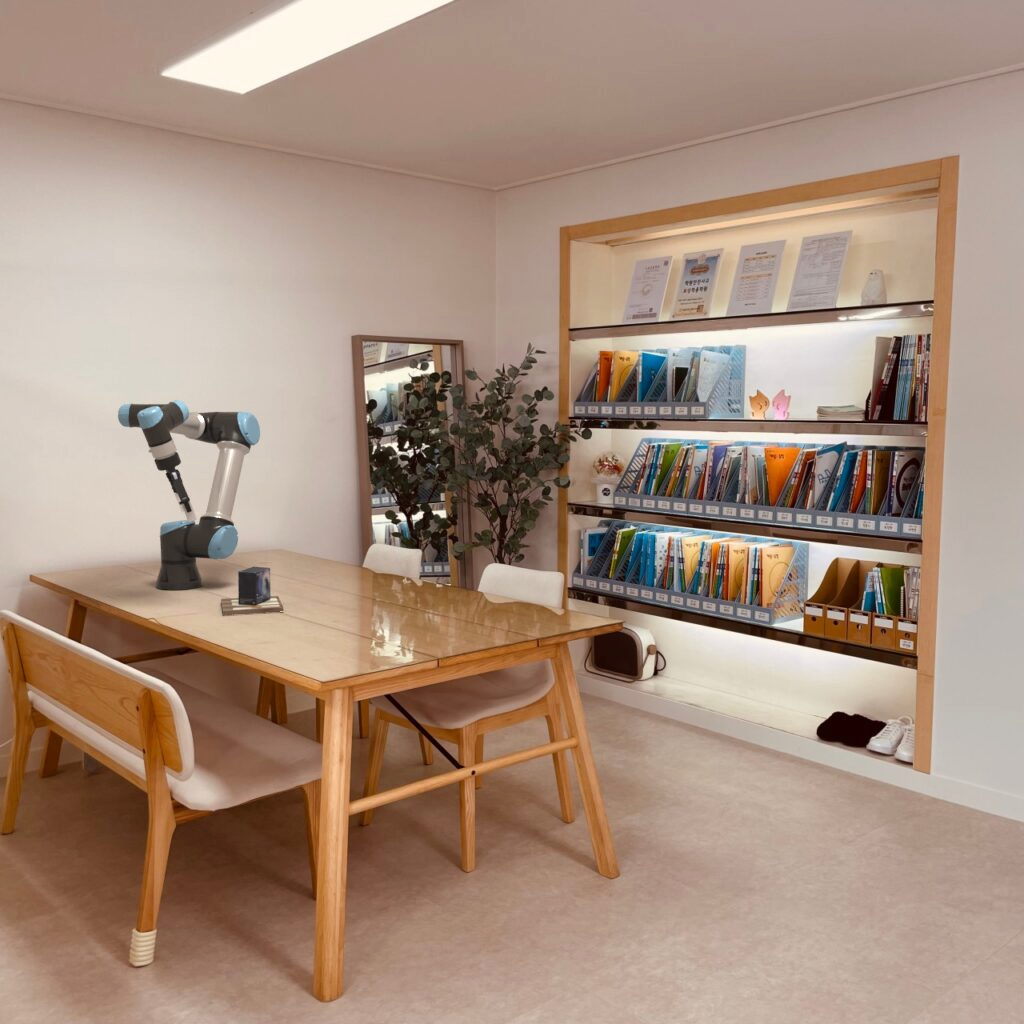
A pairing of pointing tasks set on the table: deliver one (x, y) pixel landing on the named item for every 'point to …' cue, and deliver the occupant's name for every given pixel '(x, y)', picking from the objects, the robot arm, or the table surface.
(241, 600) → the small box
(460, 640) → the table surface
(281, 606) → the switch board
